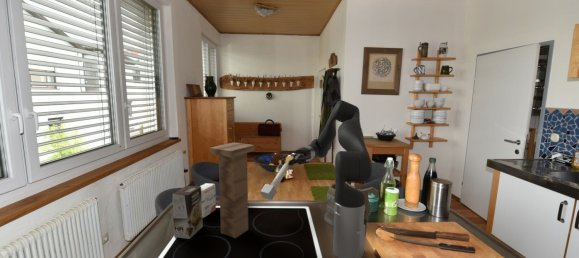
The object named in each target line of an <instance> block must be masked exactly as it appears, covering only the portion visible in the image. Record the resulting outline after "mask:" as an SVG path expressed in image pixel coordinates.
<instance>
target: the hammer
mask: <svg viewBox="0 0 579 258" xmlns="http://www.w3.org/2000/svg"><path fill="white" fill-rule="evenodd" d="M292 159H294V157H293V156H287V158H286V159H285V161H284V165H283V164H282V167H281V168H280V170H279V171H278V172H277V174H276V175H275V177H274V179H273V181H272V182H271V184H269V183H265V184H264V185H263V187H262V188H261V189H260V194H261V195H262V198H264V199H267V200H270V201H272V200H273V199H274V197H276V194H277V188H278V187H279V184H280V183H281V182H282V180H283V178H284V176H285V174H286V173H287V172H288V170H289V168H292V167H293V165H291V166H289V160H292Z"/></svg>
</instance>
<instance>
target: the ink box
mask: <svg viewBox="0 0 579 258" xmlns="http://www.w3.org/2000/svg"><path fill="white" fill-rule="evenodd" d="M199 187H201V195H202V219H204V218H206V217H207V216H208V215H210V214H213V212H214V211H216V210H217V203H216V202H217V200H216V198H217V196H216V184H215V183H209V182H208V183H207V182H205V183H203V184H201V185H200V186H199Z"/></svg>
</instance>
